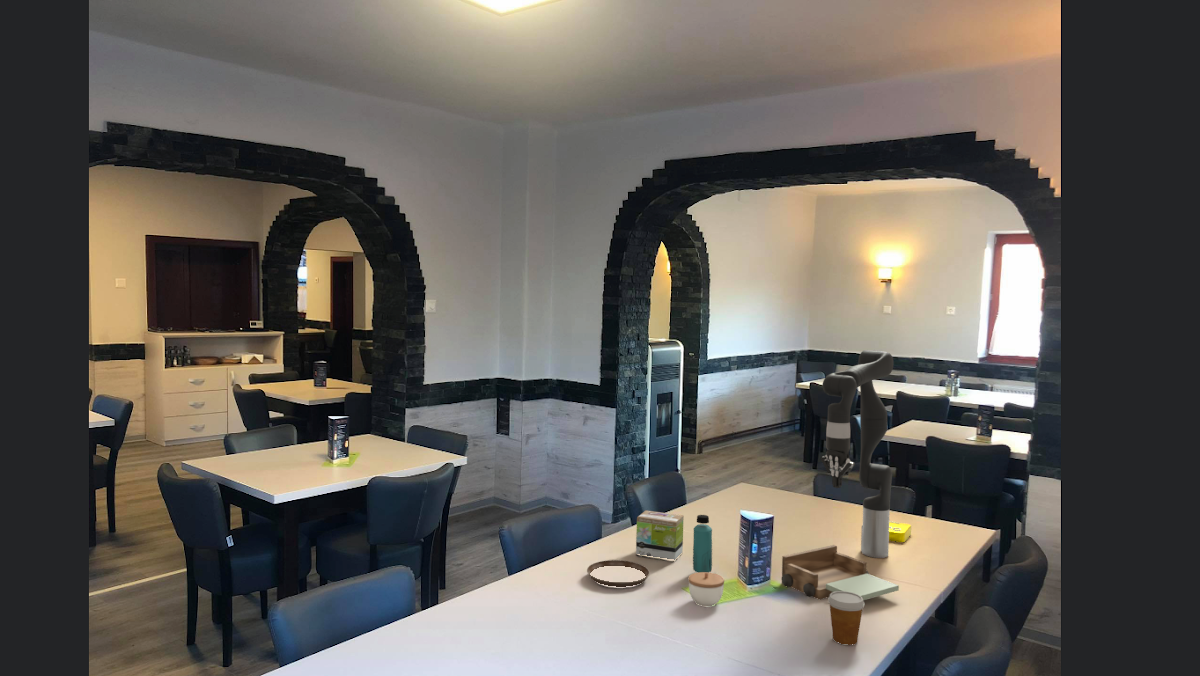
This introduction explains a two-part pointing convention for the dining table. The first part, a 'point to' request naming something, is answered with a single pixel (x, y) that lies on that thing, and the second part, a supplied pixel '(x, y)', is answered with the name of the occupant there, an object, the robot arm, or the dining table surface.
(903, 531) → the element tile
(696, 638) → the dining table surface
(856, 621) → the disposable coffee cup
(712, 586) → the lidded jar
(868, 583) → the panel
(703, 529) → the beverage bottle
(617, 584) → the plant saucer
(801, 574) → the drawer box
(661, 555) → the tea box
